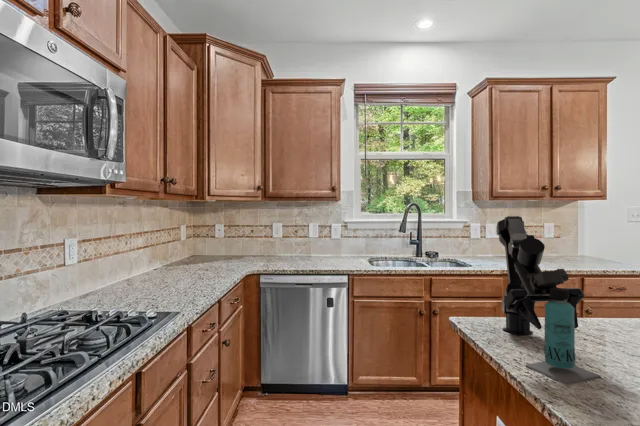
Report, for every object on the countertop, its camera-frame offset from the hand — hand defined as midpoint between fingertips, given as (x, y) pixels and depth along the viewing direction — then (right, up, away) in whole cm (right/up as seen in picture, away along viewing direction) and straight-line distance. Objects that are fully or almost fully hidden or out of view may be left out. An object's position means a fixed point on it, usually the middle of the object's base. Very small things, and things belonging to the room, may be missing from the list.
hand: (558, 328), depth 92 cm
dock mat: (0, -10, -1) cm, 10 cm away
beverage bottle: (0, -10, -1) cm, 10 cm away
